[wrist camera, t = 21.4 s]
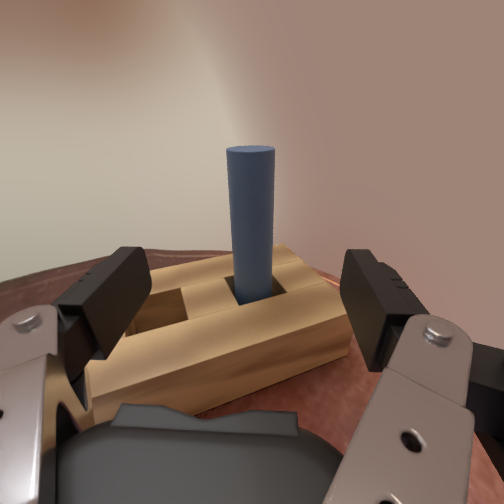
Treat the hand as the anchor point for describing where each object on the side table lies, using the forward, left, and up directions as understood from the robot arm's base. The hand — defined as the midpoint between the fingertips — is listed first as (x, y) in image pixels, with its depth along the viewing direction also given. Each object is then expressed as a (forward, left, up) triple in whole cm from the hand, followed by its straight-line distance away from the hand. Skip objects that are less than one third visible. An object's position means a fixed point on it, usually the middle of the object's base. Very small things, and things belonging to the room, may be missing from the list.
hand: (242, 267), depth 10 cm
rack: (0, -8, -13) cm, 15 cm away
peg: (-4, -8, -13) cm, 16 cm away
